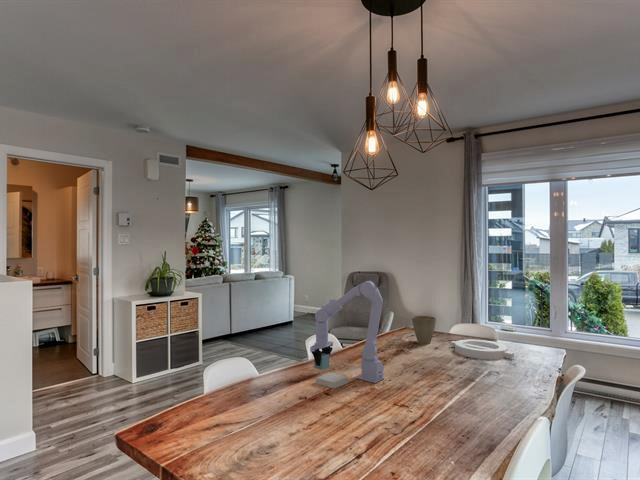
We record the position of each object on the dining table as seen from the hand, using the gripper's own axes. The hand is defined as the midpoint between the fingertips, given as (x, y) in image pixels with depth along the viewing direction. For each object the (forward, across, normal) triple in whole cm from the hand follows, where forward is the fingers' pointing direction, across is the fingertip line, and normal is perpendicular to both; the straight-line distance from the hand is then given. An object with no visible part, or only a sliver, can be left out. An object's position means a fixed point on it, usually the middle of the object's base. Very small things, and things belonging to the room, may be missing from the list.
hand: (321, 364), depth 184 cm
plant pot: (+5, -92, +8) cm, 92 cm away
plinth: (+5, +6, +11) cm, 13 cm away
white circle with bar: (+6, -92, +43) cm, 102 cm away
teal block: (+2, 0, 0) cm, 2 cm away
